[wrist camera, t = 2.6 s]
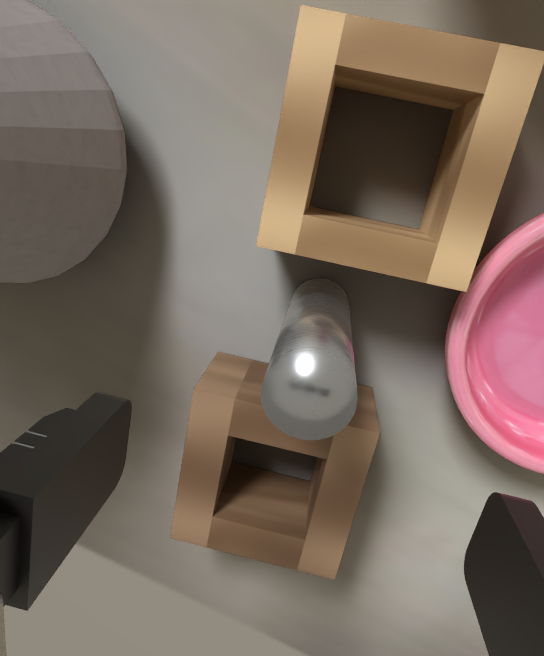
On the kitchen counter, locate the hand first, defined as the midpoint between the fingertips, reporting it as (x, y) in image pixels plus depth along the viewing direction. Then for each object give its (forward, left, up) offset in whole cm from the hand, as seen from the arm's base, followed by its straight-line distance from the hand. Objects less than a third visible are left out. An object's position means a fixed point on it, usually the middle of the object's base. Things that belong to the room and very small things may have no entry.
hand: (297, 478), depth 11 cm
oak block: (-7, +1, -14) cm, 16 cm away
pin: (0, 0, -14) cm, 14 cm away
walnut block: (+7, -1, -14) cm, 15 cm away
